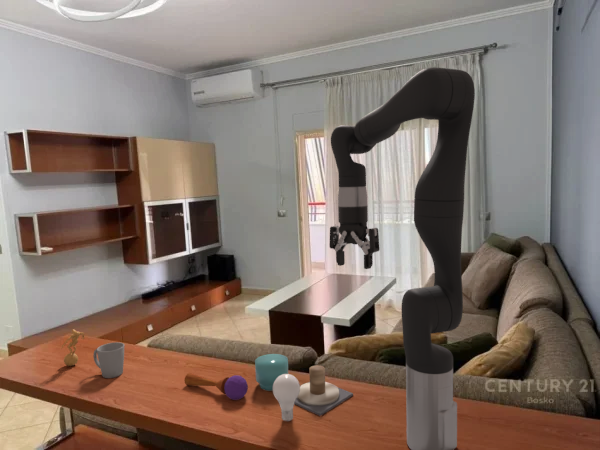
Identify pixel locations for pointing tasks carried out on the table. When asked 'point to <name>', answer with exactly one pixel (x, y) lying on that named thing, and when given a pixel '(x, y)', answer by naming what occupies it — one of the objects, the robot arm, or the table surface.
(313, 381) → the lid
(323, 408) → the mat
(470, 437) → the table surface
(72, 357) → the figurine
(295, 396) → the lightbulb
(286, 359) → the teal rounded dome
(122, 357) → the cup
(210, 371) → the table surface
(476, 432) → the table surface
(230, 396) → the kendama
